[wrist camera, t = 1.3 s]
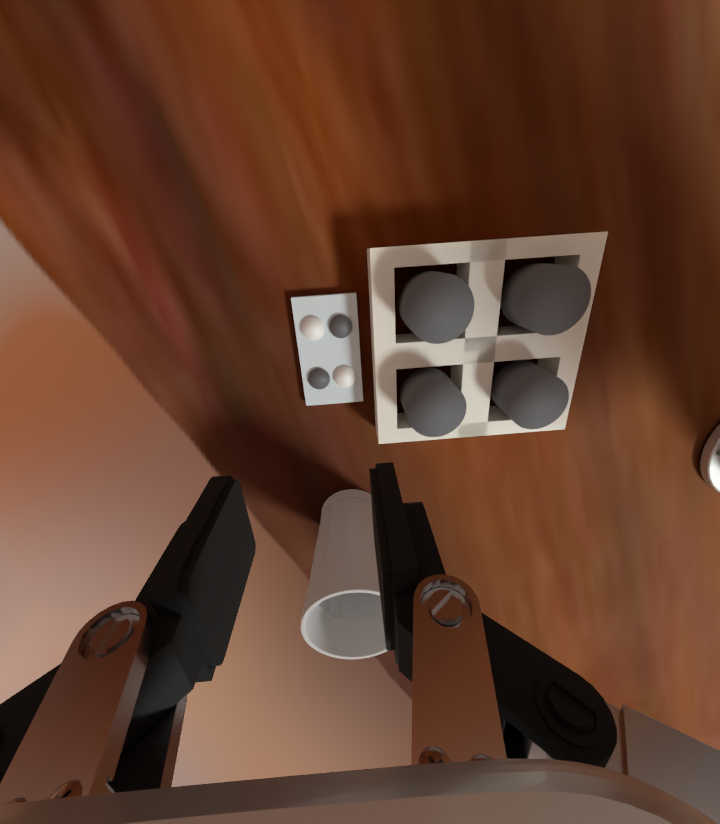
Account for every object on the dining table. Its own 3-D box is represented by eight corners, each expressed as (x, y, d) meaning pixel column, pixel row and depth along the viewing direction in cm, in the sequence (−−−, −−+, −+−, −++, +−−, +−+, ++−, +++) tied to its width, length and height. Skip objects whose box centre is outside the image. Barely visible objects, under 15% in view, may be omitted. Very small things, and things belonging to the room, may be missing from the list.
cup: (308, 485, 34) (292, 595, 23) (388, 479, 34) (409, 585, 23) (317, 544, 37) (307, 663, 26) (389, 538, 37) (409, 654, 27)
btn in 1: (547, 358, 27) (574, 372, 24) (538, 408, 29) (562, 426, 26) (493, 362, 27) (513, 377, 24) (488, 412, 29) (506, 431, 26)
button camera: (459, 268, 24) (477, 270, 21) (455, 330, 26) (471, 341, 23) (397, 272, 24) (406, 275, 21) (398, 334, 26) (406, 346, 23)
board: (579, 233, 25) (608, 231, 23) (545, 414, 32) (564, 429, 29) (366, 248, 25) (369, 248, 22) (375, 427, 31) (378, 443, 29)
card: (356, 292, 26) (356, 293, 26) (362, 398, 30) (363, 402, 29) (291, 296, 26) (290, 298, 26) (306, 403, 30) (305, 406, 29)
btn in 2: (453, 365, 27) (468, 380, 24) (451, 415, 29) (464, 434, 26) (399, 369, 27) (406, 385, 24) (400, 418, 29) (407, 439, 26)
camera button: (564, 261, 24) (598, 262, 21) (553, 323, 26) (582, 333, 23) (503, 265, 24) (528, 267, 21) (497, 327, 26) (518, 337, 23)
